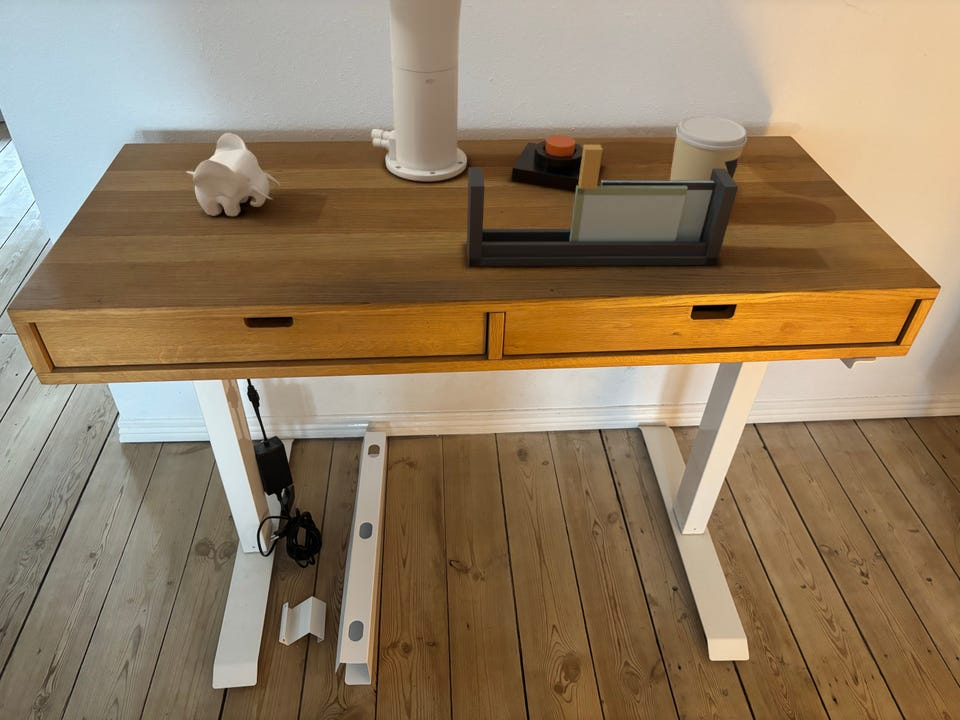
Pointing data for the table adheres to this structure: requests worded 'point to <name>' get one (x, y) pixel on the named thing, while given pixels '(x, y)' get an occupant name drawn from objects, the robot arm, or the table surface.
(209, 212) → the elephant figurine
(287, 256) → the table surface
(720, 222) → the window frame
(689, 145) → the coffee cup
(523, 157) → the switch box
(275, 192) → the table surface
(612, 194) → the sliding pane
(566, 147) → the button
